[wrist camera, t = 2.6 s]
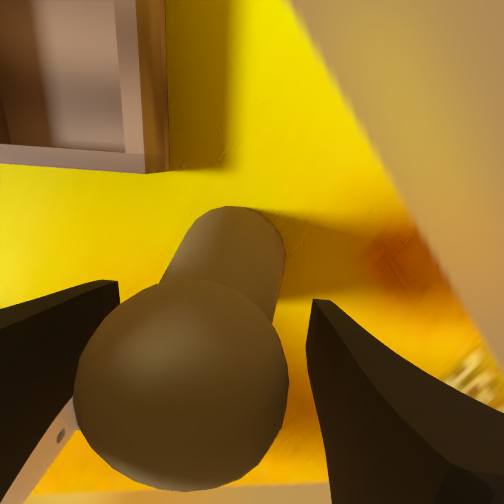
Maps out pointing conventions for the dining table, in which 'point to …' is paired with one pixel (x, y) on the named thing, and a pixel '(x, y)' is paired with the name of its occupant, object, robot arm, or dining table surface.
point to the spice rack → (84, 85)
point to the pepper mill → (192, 362)
